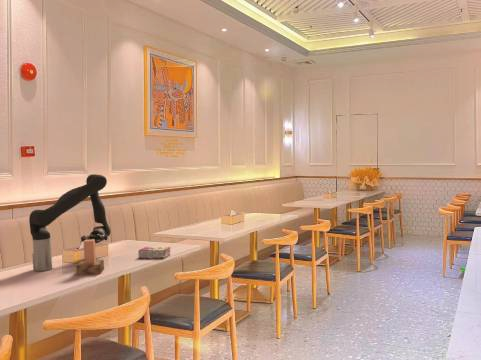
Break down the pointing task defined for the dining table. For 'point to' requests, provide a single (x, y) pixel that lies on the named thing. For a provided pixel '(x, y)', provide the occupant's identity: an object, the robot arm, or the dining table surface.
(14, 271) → the dining table surface
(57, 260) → the dining table surface
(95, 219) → the robot arm
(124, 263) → the dining table surface
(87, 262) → the terracotta block
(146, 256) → the candy bar box
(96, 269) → the walnut block
